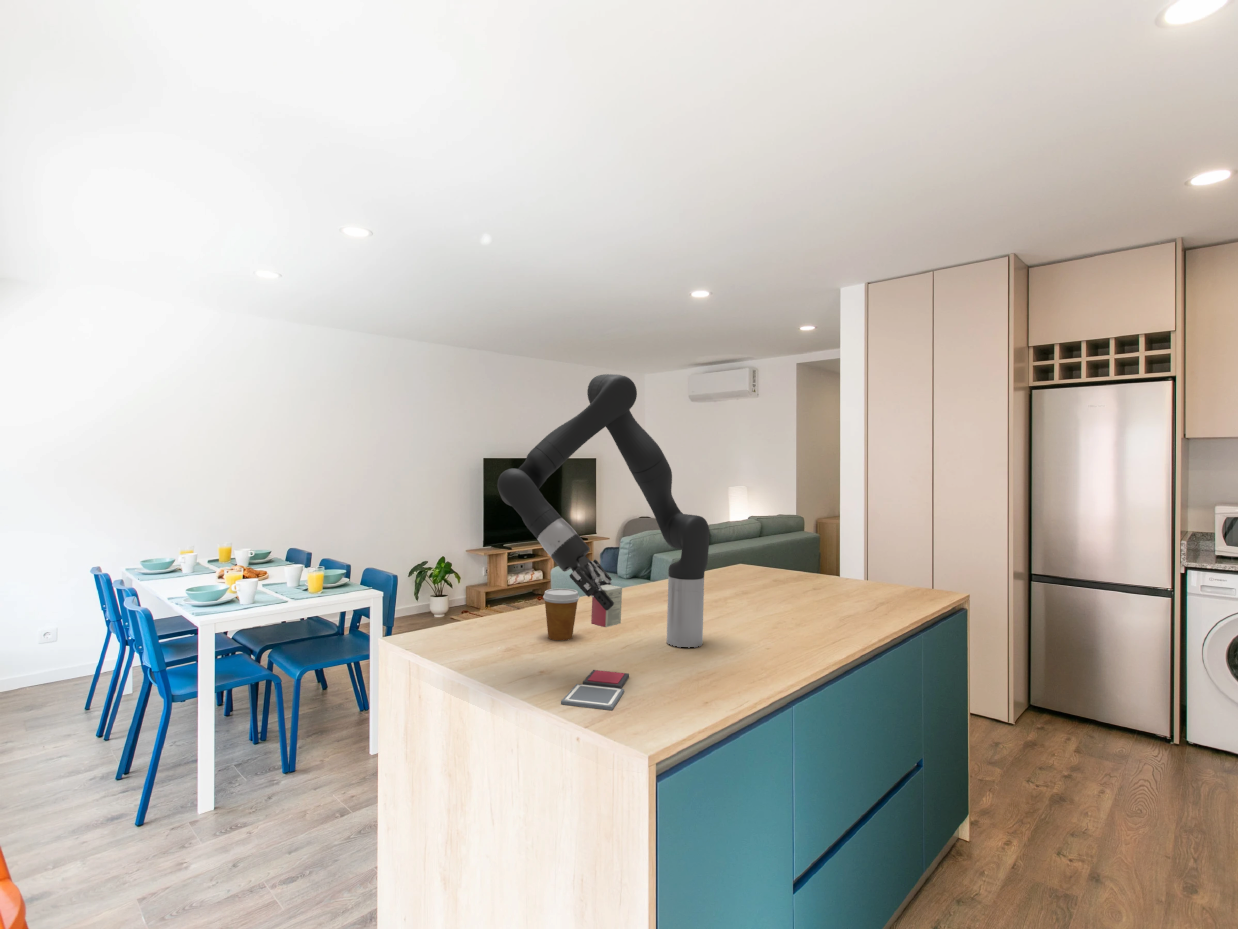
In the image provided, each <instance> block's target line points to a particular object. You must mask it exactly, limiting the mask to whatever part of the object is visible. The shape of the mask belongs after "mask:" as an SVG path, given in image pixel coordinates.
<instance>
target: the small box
mask: <svg viewBox="0 0 1238 929" xmlns="http://www.w3.org/2000/svg"><path fill="white" fill-rule="evenodd" d="M601 588H602V591H604V592H605V593H606V594H607V595H608V596H609V598H610V599H611V600H612V601H613V602H614V605H613V606H612V607H611V608H610V609H609V610H605V609H604V608H603V607H602V606H601V604H600V603H599V602H598V601H597V600H596V599H595V597H594V598H593V597H591V620H590V621H591V623H590V624H591V625H594V626H597V627H601V628H609V627H613V626H617V625H620V624H622V622H621V621H622V598H623V586H617V585H612V584H611V585H602V586H601Z"/></svg>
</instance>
